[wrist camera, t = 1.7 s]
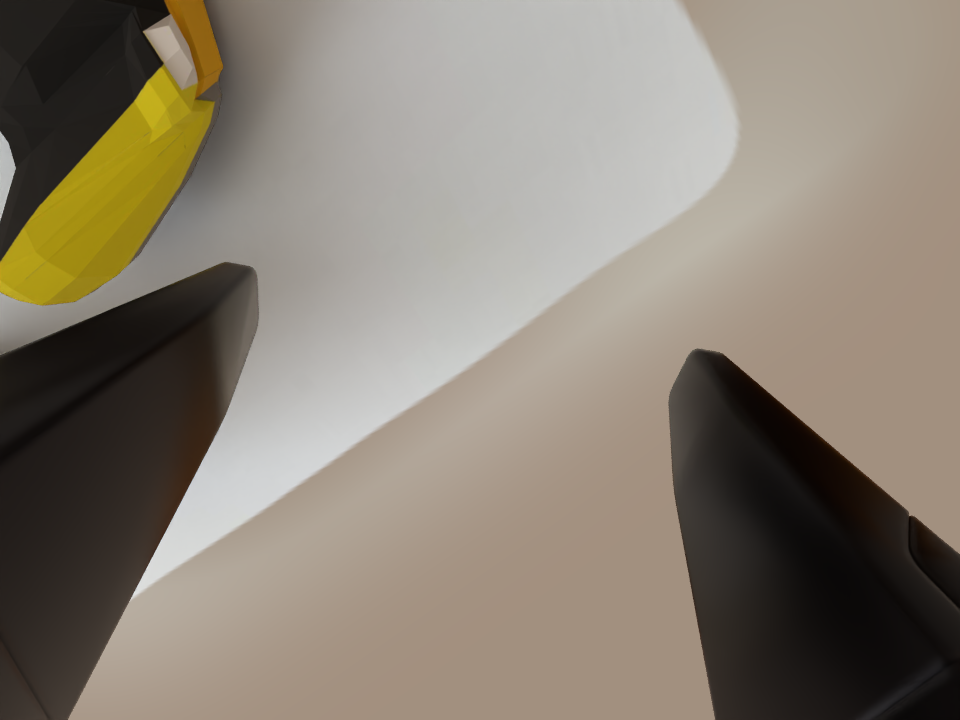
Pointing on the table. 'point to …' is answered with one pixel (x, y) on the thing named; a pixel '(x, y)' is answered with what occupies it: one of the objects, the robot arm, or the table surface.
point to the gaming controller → (97, 133)
